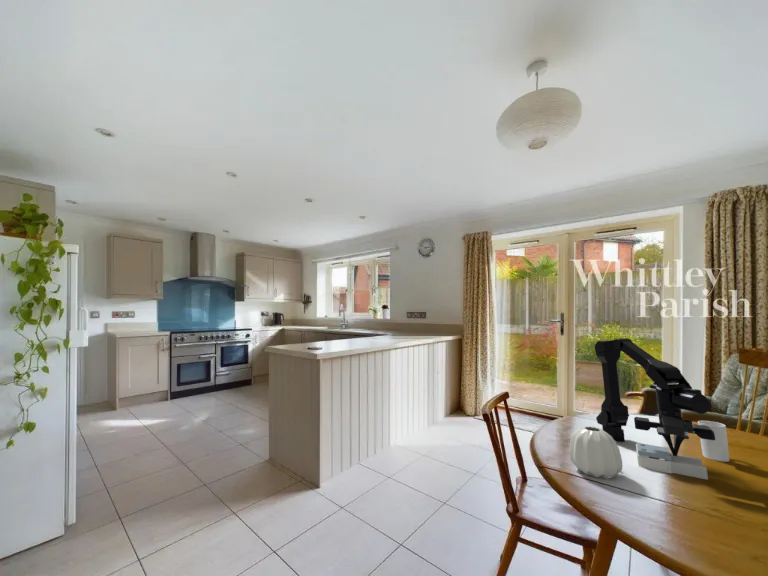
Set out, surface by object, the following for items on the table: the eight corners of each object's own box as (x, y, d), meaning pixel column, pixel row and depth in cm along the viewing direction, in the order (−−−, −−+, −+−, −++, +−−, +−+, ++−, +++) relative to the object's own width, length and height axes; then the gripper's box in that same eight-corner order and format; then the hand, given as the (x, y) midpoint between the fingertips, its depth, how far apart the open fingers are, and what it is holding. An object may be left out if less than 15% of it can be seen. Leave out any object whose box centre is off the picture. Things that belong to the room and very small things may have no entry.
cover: (638, 454, 102) (637, 449, 102) (637, 446, 108) (636, 442, 108) (671, 460, 97) (670, 455, 97) (668, 451, 103) (667, 447, 104)
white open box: (639, 469, 101) (637, 456, 101) (636, 450, 115) (635, 439, 115) (709, 483, 91) (707, 469, 92) (696, 461, 105) (695, 449, 106)
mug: (729, 466, 102) (724, 428, 103) (700, 459, 107) (695, 423, 109) (733, 457, 108) (728, 422, 109) (705, 451, 113) (701, 417, 114)
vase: (606, 487, 90) (602, 439, 92) (561, 468, 103) (558, 425, 104) (633, 477, 96) (628, 431, 97) (587, 459, 108) (584, 419, 110)
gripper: (633, 406, 100) (638, 457, 99) (716, 415, 89) (723, 473, 87) (632, 399, 109) (636, 446, 107) (707, 407, 98) (714, 459, 96)
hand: (674, 455), depth 99 cm, fingers closed
